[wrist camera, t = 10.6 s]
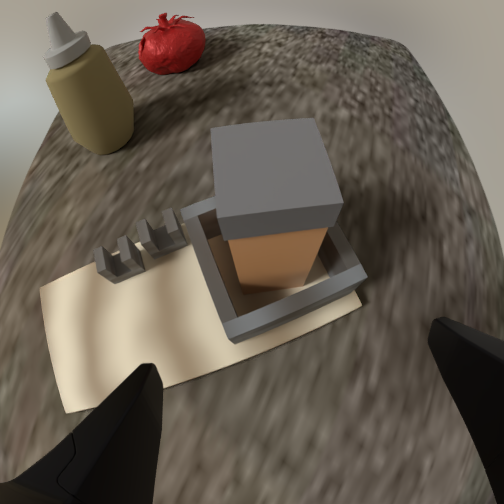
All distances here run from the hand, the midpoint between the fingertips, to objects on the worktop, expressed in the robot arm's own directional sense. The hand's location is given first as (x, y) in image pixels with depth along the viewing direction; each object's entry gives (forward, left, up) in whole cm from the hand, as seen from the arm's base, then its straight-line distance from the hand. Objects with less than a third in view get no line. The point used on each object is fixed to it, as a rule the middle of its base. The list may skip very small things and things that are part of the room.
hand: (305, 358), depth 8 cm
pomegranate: (+33, -26, -14) cm, 44 cm away
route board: (+9, 0, -14) cm, 16 cm away
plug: (+5, -6, -13) cm, 15 cm away
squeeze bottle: (+29, -10, -14) cm, 33 cm away
